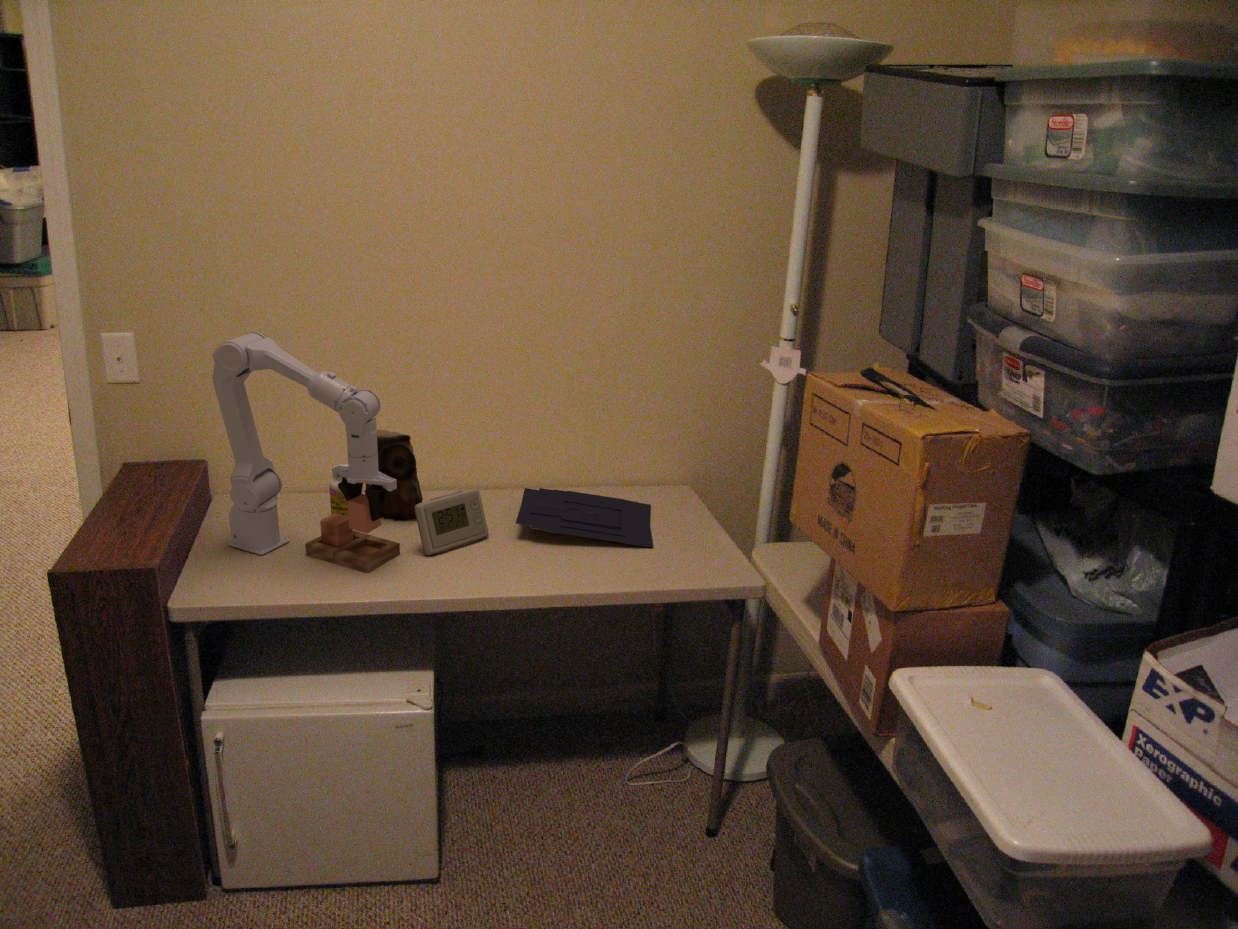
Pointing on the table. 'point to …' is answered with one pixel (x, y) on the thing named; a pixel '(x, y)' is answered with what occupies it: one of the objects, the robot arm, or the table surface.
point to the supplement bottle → (338, 497)
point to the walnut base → (350, 546)
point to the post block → (361, 515)
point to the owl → (398, 475)
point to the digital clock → (451, 521)
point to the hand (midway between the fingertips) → (366, 516)
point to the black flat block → (586, 516)
